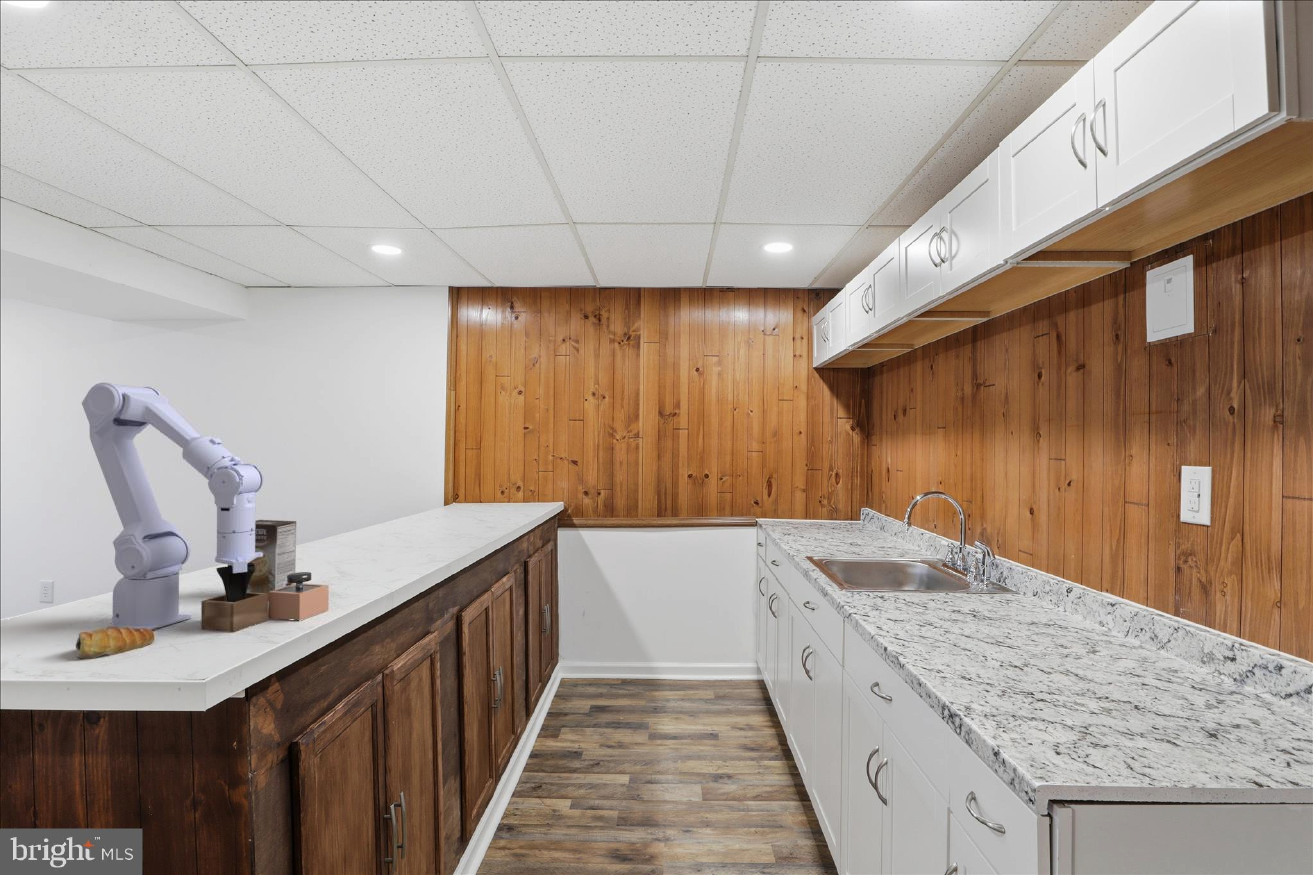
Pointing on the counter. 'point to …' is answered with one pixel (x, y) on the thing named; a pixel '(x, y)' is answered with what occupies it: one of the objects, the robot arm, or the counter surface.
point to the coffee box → (273, 555)
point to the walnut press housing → (234, 612)
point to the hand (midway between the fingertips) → (235, 605)
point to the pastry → (112, 641)
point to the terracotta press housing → (298, 602)
